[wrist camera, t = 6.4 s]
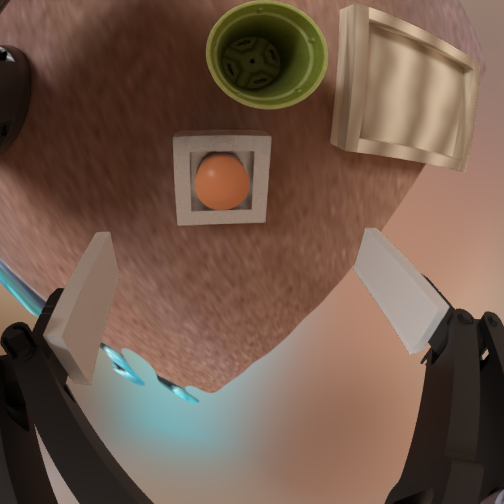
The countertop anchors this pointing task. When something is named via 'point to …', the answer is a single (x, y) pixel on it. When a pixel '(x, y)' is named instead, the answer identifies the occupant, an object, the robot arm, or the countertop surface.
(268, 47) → the plant pot
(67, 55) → the countertop surface
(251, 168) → the button housing
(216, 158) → the button
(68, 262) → the countertop surface
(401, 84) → the tray
